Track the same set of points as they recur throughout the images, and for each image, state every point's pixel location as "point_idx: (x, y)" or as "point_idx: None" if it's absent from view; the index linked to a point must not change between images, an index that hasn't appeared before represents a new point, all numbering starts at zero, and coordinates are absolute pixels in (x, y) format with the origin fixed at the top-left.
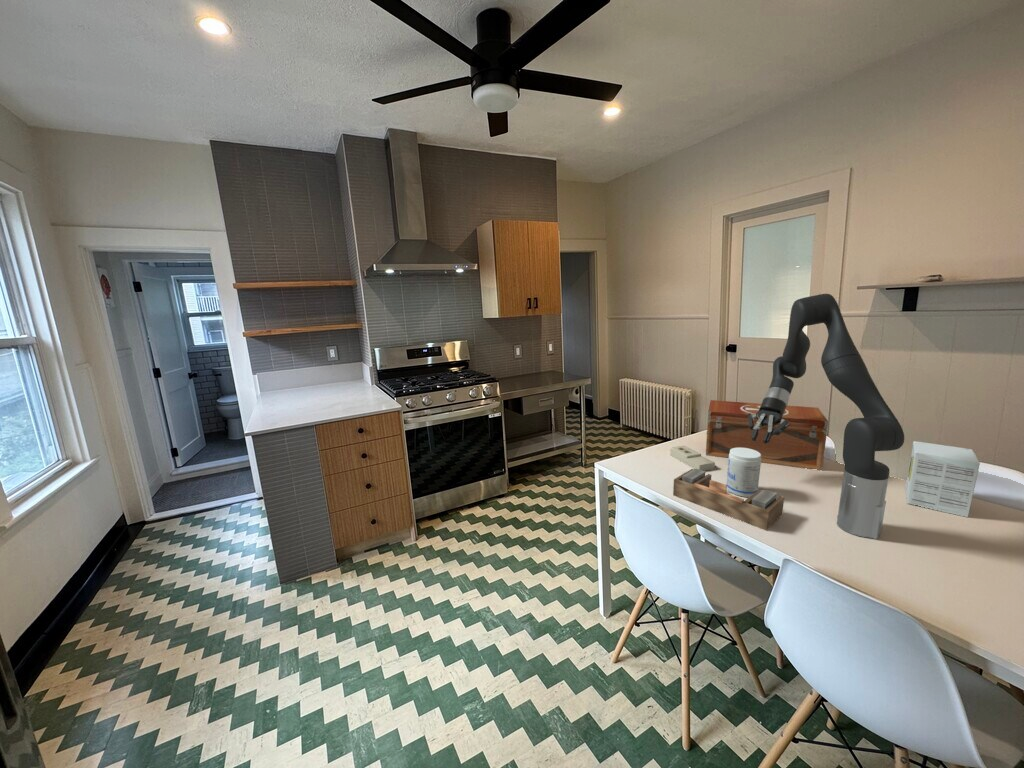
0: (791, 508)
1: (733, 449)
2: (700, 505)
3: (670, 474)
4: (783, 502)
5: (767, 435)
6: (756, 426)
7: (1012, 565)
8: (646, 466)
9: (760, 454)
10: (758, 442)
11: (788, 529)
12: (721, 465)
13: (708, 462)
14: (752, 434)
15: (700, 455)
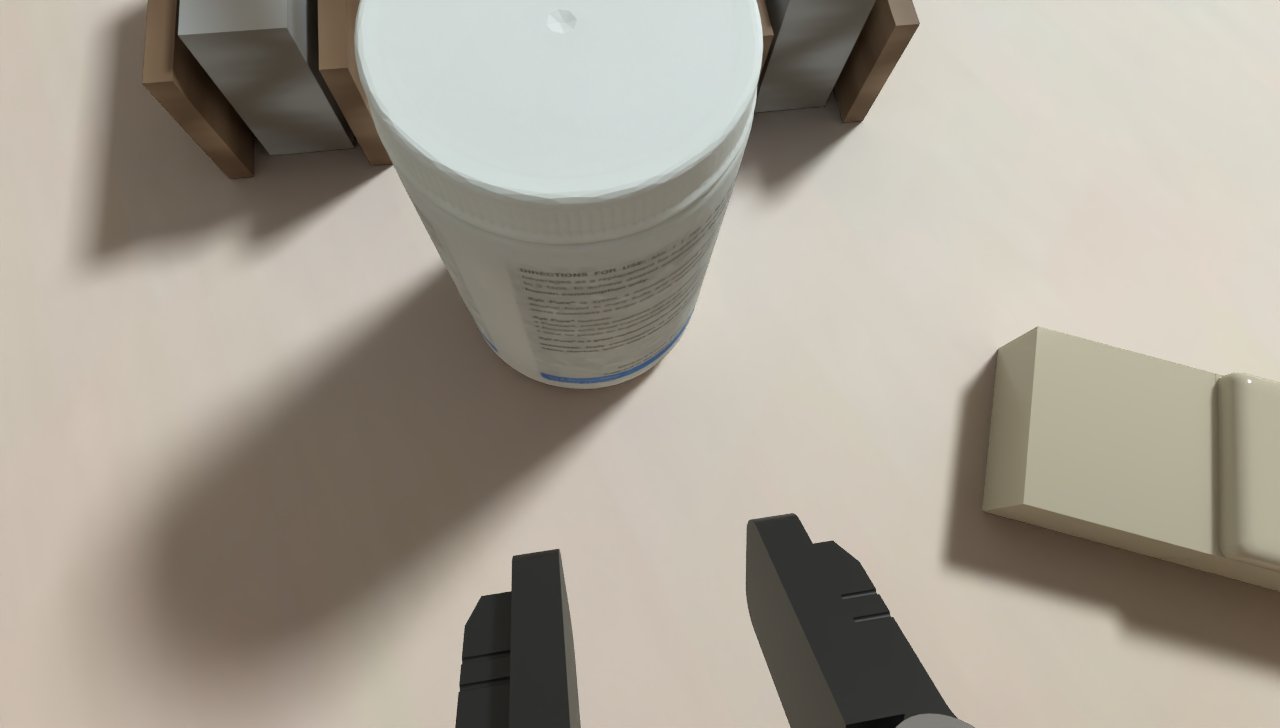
0: (213, 315)
1: (724, 3)
2: None
3: (1055, 138)
4: (170, 112)
5: (510, 691)
6: None
7: None
8: (1247, 118)
9: (377, 100)
10: None
11: None
12: (1013, 651)
13: (1050, 450)
14: (857, 597)
15: (1224, 538)
